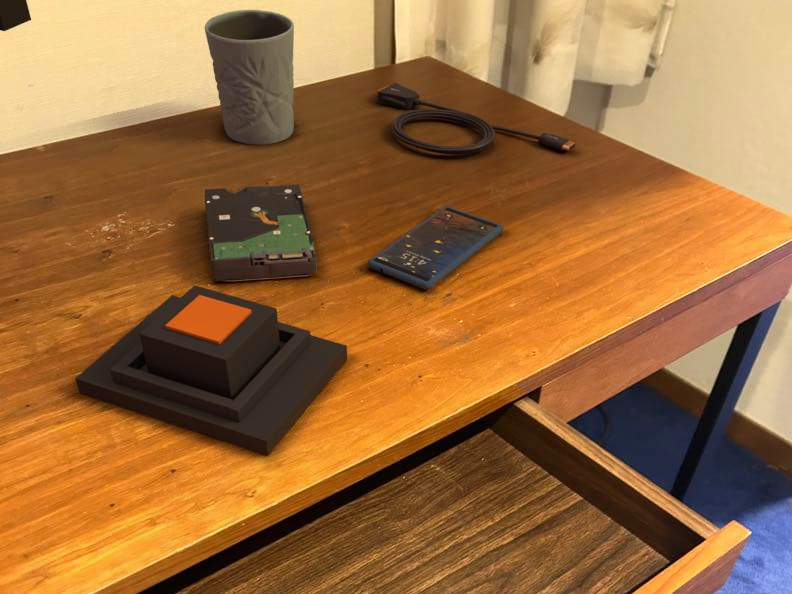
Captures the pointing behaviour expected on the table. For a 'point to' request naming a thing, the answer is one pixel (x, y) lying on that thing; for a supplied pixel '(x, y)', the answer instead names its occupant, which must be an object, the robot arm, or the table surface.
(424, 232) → the smartphone
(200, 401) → the base pad
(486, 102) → the table surface
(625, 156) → the table surface
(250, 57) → the grey embossed cup
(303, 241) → the disk drive
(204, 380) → the black and orange block
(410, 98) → the cable
